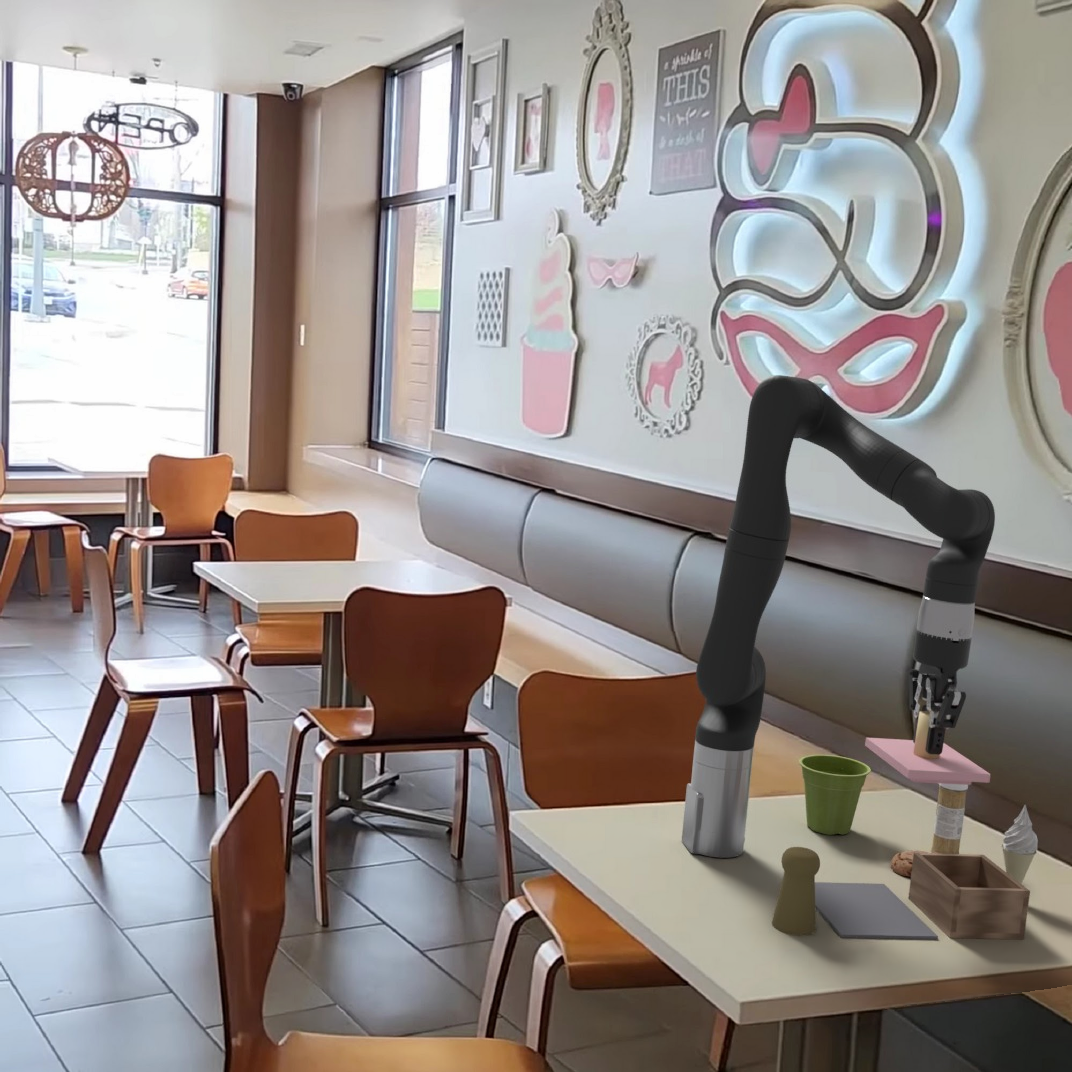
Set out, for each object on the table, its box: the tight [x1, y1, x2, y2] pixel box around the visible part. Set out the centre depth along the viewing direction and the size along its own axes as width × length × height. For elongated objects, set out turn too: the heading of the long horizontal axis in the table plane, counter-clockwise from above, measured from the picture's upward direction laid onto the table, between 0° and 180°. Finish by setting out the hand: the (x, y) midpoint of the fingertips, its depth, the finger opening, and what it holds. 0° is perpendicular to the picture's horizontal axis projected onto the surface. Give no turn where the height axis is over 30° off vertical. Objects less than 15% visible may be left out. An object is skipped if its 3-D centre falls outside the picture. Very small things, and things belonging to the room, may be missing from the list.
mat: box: [815, 881, 939, 940], centre depth 199 cm, size 14×19×1 cm
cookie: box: [890, 850, 929, 878], centre depth 217 cm, size 10×11×3 cm
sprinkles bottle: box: [930, 783, 969, 854], centre depth 225 cm, size 5×5×14 cm
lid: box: [864, 711, 991, 786], centre depth 196 cm, size 12×15×8 cm
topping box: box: [908, 852, 1031, 940], centre depth 199 cm, size 11×14×7 cm
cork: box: [771, 846, 821, 936], centre depth 191 cm, size 6×6×11 cm
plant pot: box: [798, 754, 872, 836], centre depth 234 cm, size 12×12×11 cm
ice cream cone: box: [1000, 804, 1039, 885], centre depth 207 cm, size 5×5×15 cm
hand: (927, 748), depth 197 cm, fingers closed on lid, 3 cm apart
